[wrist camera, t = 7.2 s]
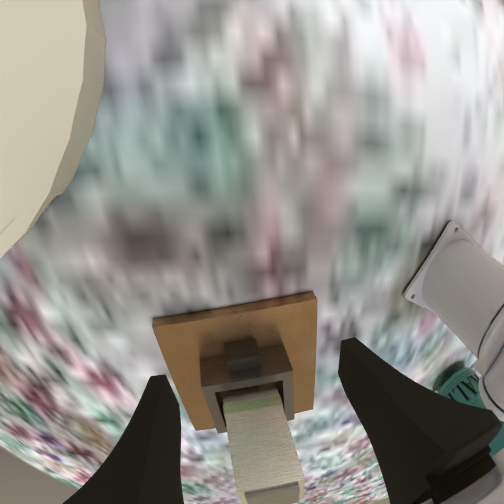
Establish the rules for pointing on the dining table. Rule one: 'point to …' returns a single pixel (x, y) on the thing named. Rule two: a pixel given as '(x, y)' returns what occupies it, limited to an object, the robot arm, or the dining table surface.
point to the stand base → (242, 355)
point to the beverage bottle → (470, 398)
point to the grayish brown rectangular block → (262, 449)
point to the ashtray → (45, 103)
